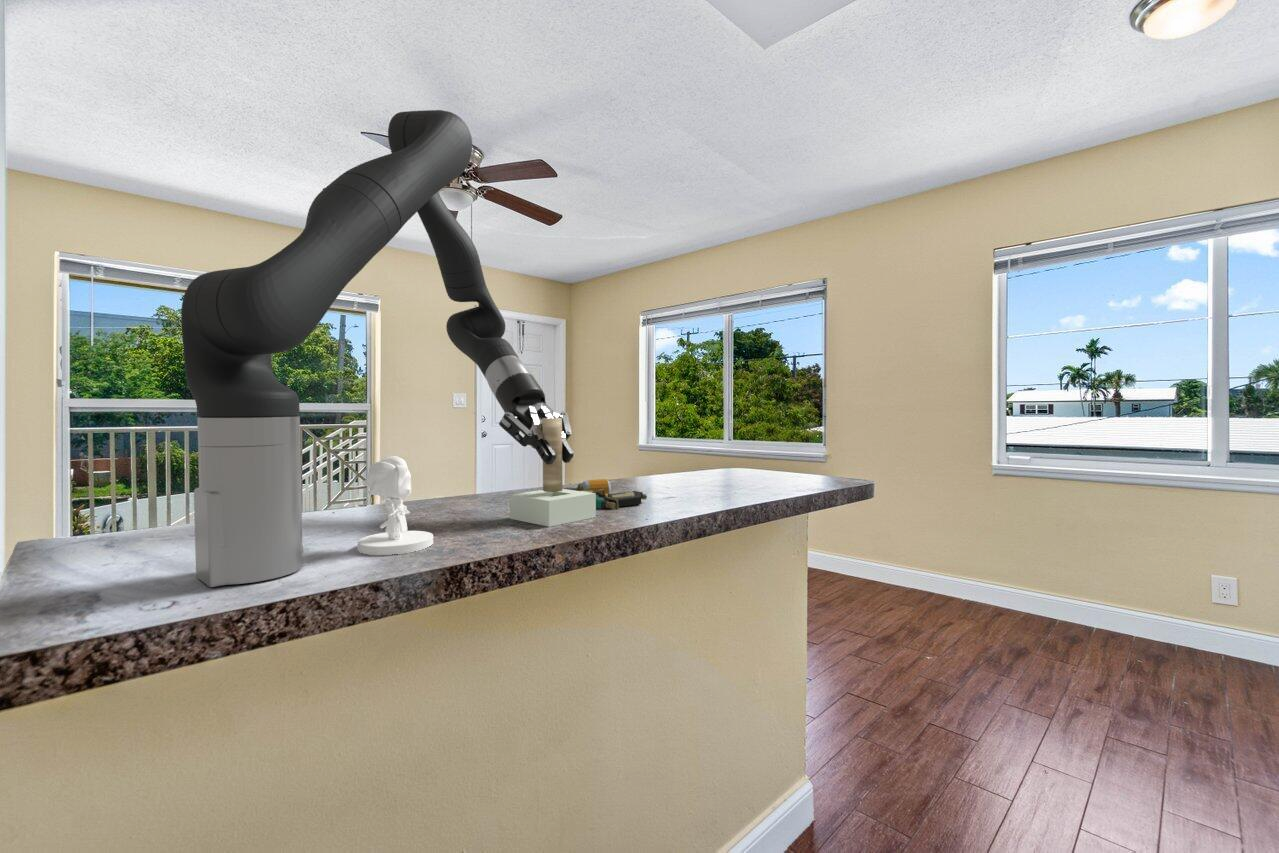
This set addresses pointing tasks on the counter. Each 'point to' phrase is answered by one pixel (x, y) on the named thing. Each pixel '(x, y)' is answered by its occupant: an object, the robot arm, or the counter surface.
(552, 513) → the socket block
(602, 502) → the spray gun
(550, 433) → the peg
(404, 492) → the figurine
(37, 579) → the counter surface
